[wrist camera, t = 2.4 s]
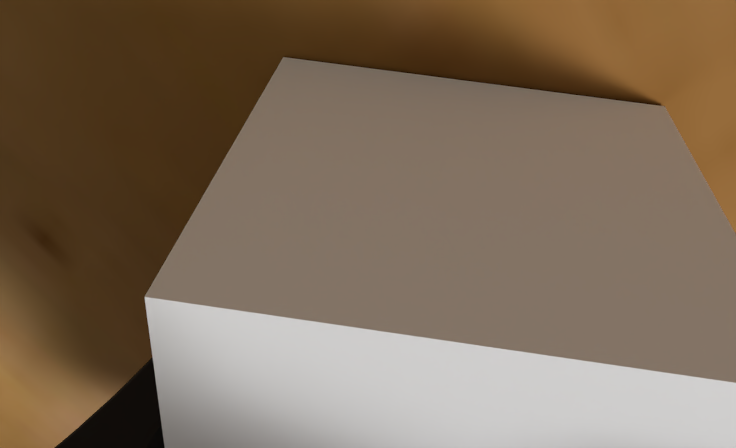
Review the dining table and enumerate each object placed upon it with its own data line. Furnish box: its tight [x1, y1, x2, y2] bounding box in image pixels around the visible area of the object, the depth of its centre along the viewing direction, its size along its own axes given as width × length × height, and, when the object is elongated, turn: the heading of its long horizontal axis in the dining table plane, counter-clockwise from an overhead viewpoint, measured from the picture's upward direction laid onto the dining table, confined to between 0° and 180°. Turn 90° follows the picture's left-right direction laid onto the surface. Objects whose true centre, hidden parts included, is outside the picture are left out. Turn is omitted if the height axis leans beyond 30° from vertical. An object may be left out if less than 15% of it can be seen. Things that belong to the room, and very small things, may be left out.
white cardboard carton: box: [145, 57, 736, 448], centre depth 12 cm, size 10×6×6 cm, turn 175°
